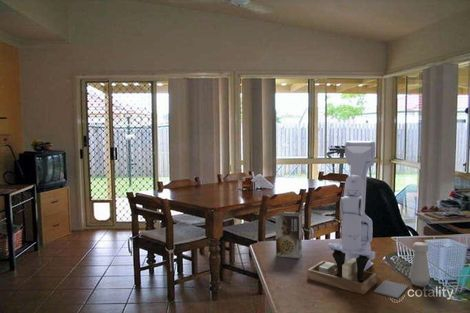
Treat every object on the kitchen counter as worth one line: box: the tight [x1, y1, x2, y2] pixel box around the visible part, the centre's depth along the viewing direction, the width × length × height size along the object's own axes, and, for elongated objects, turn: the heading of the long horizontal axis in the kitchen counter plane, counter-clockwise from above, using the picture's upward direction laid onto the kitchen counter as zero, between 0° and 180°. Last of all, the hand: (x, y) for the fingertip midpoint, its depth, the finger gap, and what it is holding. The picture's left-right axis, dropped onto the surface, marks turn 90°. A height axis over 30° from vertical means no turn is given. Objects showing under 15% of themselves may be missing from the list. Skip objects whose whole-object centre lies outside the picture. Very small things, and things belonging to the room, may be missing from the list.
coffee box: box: [275, 211, 303, 259], centre depth 149 cm, size 9×6×16 cm
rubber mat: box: [373, 279, 409, 300], centre depth 118 cm, size 10×7×1 cm
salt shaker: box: [408, 241, 431, 288], centre depth 121 cm, size 6×6×13 cm
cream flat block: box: [341, 258, 359, 282], centre depth 123 cm, size 8×2×7 cm, turn 140°
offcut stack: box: [319, 261, 338, 276], centre depth 129 cm, size 7×4×4 cm, turn 141°
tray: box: [306, 260, 378, 295], centre depth 125 cm, size 11×19×3 cm, turn 50°
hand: (350, 276), depth 123 cm, fingers open, 5 cm apart
